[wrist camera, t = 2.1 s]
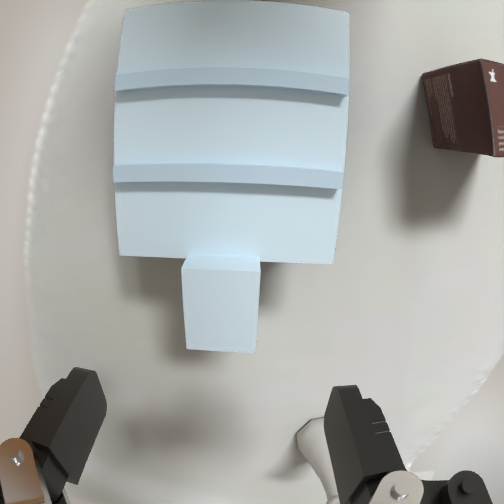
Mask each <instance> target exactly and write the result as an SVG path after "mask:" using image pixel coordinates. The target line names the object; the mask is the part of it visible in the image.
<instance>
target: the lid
mask: <svg viewBox="0 0 504 504" xmlns="http://www.w3.org/2000/svg"><path fill="white" fill-rule="evenodd" d="M349 73H350V24H349V12H345V11H339V10H334V9H329V8H323V7H316V6H309V5H302V4H293V3H283V2H271V1H252V0H208V1H190V2H177V3H168V4H159V5H151V6H145V7H138V8H132V9H127V10H125V12H124V18H123V25H122V32H121V39H120V47H119V56H118V66H117V75H115V86H114V91H116V92H115V111H114V165H113V182H114V187H115V207H116V222H117V234H118V245H119V255H121V256H142V257H164V258H186V260H185V262H184V264H183V266H182V268H181V276H182V294H183V310H184V324H185V336H186V348H187V349H192V350H207V351H224V352H249V353H255V352H256V337H257V322H258V307H259V291H260V275H261V269H260V262H286V263H315V264H333V260H334V253H335V246H336V238H337V231H338V223H339V214H340V206H341V197H342V187H343V177H344V165H345V153H346V140H347V124H348V104H349Z"/></svg>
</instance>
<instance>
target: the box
mask: <svg viewBox="0 0 504 504" xmlns="http://www.w3.org/2000/svg"><path fill="white" fill-rule="evenodd" d="M422 77H423V82H424V87H425V92H426V98H427V103H428V109H429V115H430V122H431V130H432V138H433V146H434V148H440V149H447V150H455V151H463V152H470V153H477V154H482V155H489V156H493V157H504V64H502V63H498V62H494V61H489V60H485V59H478V60H473V61H468V62H464V63H459V64H456V65H451V66H447V67H444V68H440V69H437V70H434V71H430V72H426V73H423V74H422Z"/></svg>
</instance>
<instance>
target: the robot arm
mask: <svg viewBox="0 0 504 504" xmlns="http://www.w3.org/2000/svg"><path fill="white" fill-rule="evenodd" d="M106 411H107V403H106V399H105V396H104V393H103V390H102V387H101V385H100V382H99V379H98V376H97V373H96V372H95V371H92V370H87V369H82V368H78V367H75V368H73V369H72V371H71V372H70V374H69V375H68V377H67V378H66V379H63V378H62V379H60V380H59V381H58V382H56V383H55V384H54V385H52V386H51V388H50V389H49V391H48V392H47V394H46V396H45V399H43V400H42V402H41V403H40V407H38V408H37V410H36V412H35V413H34V415H33V416H32V418H31V420H30V421H29V423H28V425H27V426H26V428H25V430H24V432H23V433H22V435H21V436H20V437H19V438H11V439H8V440H6V441H4V442H3V443H2V444H1V445H0V504H70V501H69V499H68V496H67V493H66V491H65V489H64V486H65V483H66V481H67V482H70V483H73V484H76V485H78V482H79V479H80V477H81V474H82V472H83V469H84V466H85V464H86V461H87V459H88V456H89V454H90V451H91V449H92V446H93V444H94V442H95V439H96V437H97V434H98V432H99V430H100V427H101V425H102V423H103V420H104V418H105V415H106ZM385 421H386V420H385V417H384V415H383V413H382V410H381V408H380V407H379V406H378V405H377V404H376V403H375V402H374V401H373V400H372V399H371V398H368V399H362V396H361V394H360V391H359V389H358V387H357V386H356V385H348V386H334V387H333V389H332V392H331V395H330V398H329V402H328V405H327V408H326V411H325V415H324V433H325V437H326V442H327V446H328V450H329V455H330V459H331V464H332V468H333V473H334V478H335V482H336V487H337V492H338V496H339V501H340V504H493V503H492V501H491V499H490V496H489V494H488V491H487V489H486V486H485V484H484V482H483V480H482V478H481V477H480V476H479V475H478V474H476V473H475V472H472V471H461V472H458V473H457V474H455V475H454V476H453V477H452V478H451V479H450V480H444V481H425V480H420V479H419V477H418V476H416V475H415V474H413V473H411V472H408V471H407V470H406V468H405V466H404V464H403V462H402V459H401V457H400V454H399V451H398V449H397V447H396V444H395V442H394V439H393V437H392V434H391V432H389V430H390V429H389V427H388V425H387V422H385Z"/></svg>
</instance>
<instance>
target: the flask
mask: <svg viewBox="0 0 504 504" xmlns="http://www.w3.org/2000/svg"><path fill="white" fill-rule="evenodd" d="M297 446H298V448H299V449H300V451H301V452H302V454H303V455H304V457H305V458H306V459H307V461H308V462H309V463H310V465H311V466H312V468H313V469H314V471H315V472H316V474H317V475H318V477H319V478H320V480H321V482H322V484H323V487H324V489H325V491H326V495H327V499H328V501H327V503H326V504H340V501H339V496H338V492H337V487H336V482H335V478H334V473H333V468H332V464H331V459H330V455H329V450H328V446H327V442H326V437H325V433H324V418H319V419H313V420H311V421H310V422H309V423H308V424H306V425H305V426H304V427H303V428H302V429H301V430H300V431H299V432H298V433H297Z"/></svg>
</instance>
